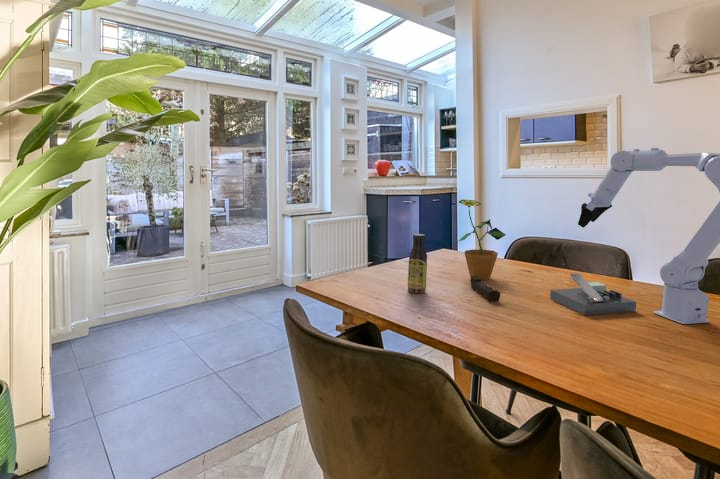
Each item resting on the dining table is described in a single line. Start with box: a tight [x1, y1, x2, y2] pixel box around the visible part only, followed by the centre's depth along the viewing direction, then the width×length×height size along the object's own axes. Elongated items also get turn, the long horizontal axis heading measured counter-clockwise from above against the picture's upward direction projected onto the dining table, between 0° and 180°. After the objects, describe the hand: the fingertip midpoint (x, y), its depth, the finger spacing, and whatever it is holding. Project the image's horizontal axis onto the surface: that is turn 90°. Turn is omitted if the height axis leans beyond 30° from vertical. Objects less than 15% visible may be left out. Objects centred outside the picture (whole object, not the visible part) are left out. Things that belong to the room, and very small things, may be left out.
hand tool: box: [469, 276, 501, 303], centre depth 138 cm, size 19×4×5 cm, turn 4°
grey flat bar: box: [569, 272, 604, 302], centre depth 122 cm, size 12×3×1 cm
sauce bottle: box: [407, 233, 428, 294], centre depth 140 cm, size 7×6×20 cm
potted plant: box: [457, 199, 507, 281], centre depth 156 cm, size 18×19×30 cm
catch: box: [576, 281, 607, 292], centre depth 129 cm, size 4×7×2 cm, turn 99°
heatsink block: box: [549, 287, 637, 316], centre depth 124 cm, size 16×16×4 cm
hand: (585, 223), depth 135 cm, fingers open, 7 cm apart
